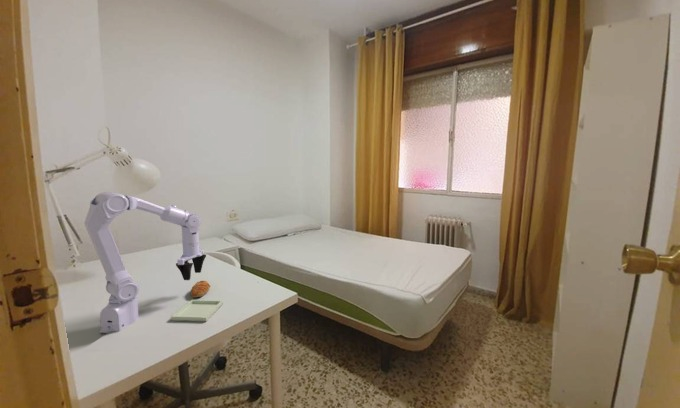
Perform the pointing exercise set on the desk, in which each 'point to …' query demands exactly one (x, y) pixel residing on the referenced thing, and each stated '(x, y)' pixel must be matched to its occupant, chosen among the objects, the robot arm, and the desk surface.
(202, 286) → the pastry
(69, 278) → the desk surface
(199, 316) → the tray
